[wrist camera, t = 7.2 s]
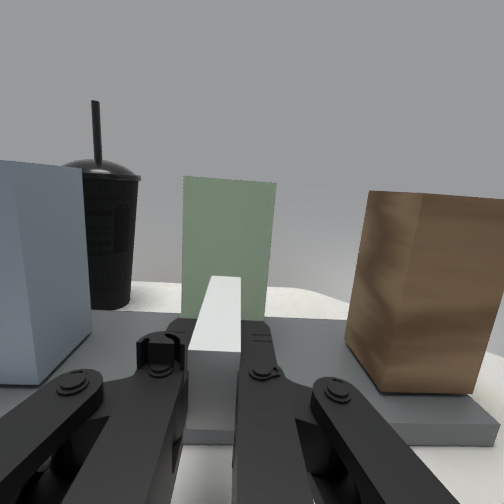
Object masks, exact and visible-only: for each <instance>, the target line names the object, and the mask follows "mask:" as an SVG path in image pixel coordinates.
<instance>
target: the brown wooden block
mask: <svg viewBox="0 0 504 504" xmlns="http://www.w3.org/2000/svg"><path fill="white" fill-rule="evenodd" d="M503 292H504V199H491V198H478V197H466V196H465V197H464V196H452V195H440V194H427V193H408V192H388V191H387V192H386V191H369V194H368V200H367V206H366V212H365V218H364V224H363V230H362V236H361V242H360V247H359V253H358V259H357V265H356V271H355V277H354V283H353V289H352V295H351V301H350V306H349V312H348V318H347V324H346V330H345V336H344V340H345V341H346V343H347V344H348V345H349V347H350V348H351V350H352V351H353V353H354V354H355V355H356V357H357V358H358V360H359V361H360V363H361V364H362V365H363V367H364V368H365V370H366V371H367V372H368V374H369V375H370V377H371V378H372V380H373V381H374V382H375V384H376V385H377V387H378V388H379V390H380V391H381V392H406V393H454V394H473V390H474V387H475V384H476V381H477V377H478V374H479V371H480V367H481V364H482V361H483V358H484V354H485V351H486V348H487V344H488V341H489V338H490V334H491V331H492V328H493V325H494V321H495V318H496V315H497V312H498V309H499V305H500V302H501V299H502V295H503Z"/></svg>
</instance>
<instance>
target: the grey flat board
mask: <svg viewBox="0 0 504 504" xmlns="http://www.w3.org/2000/svg"><path fill="white" fill-rule="evenodd" d="M177 318H181V313H158V312H134V311H109V310H91V319H92V331H91V332H90V333H89V334H88V335H87V336H86V337H85V338H84V339H83V340H82V341H81V342H80V343H79V344H78V345H77V346H76V347H75V348H74V349H73V350H72V351H71V352H70V353H69V354H68V355H67V357H66V358H65V359H64V360H63V361H62V362H61V363H60V364H59V365H58V366H57V367H56V368H55V369H54V370H53V371H52V372H51V373H50V374H49V375H48V376H47V377H46V378H45V379H44V380H43V381H42V382H41V383H40V384H39V385H20V384H0V418H1V417H2V416H4V415H5V414H6V413H8V412H9V411H10V410H12V409H13V408H14V407H16V406H17V405H18V404H20V403H21V402H23V401H24V400H25V399H27V398H28V397H29V396H31V395H32V394H33V393H35V392H36V391H37V390H39V389H40V388H41V387H43V386H44V385H45V384H47V383H48V382H50V381H51V380H53V379H54V378H56V377H58V376H59V375H61V374H64V373H66V372H69V371H72V370H78V369H94V370H96V371H98V372H100V373H101V375H102V376H103V382H107V381H112V380H118V379H123V378H127V377H130V376H132V375H133V374H134V373H135V371H136V369H137V358H136V342H137V341H138V340H139V339H140V338H141V337H143V336H145V335H147V334H149V333H153V332H157V331H166V329H167V327H168V325H169V324H170V323H171V322H172V321H174V320H175V319H177ZM264 322H265V323H266V324H267V325H268V326H269V327H270V330H271V336H272V340H273V345H274V350H275V355H276V360H277V365H278V366H279V367H281V368H282V370H283V372H284V374H285V377H286V378H287V379H289V380H291V381H293V382H295V383H298V384H300V385H304V386H308V387H311V388H313V383H314V382H315V381H316V380H317V379H319V378H322V377H336V378H340V379H343V380H345V381H347V382H349V383H351V384H352V385H353V386H355V387H356V388H357V389H358V390H359V391H360V392H361V393H362V394H363V395H364V397H365V398H366V399H367V400H368V401H369V402H370V403H371V404H372V406H373V407H374V408H375V409H376V410H377V411H378V412H379V413H380V415H381V416H382V417H383V418H384V419H385V420H386V421H387V422H388V423H389V425H390V426H391V427H392V428H393V429H394V430H395V431H396V432H397V434H398V435H399V436H400V437H401V438H402V439H403V440H404V441H405V443H406V444H407V445H424V446H493V445H494V442H495V439H496V436H497V433H498V430H499V427H500V425H501V424H499V423H498V422H497V421H496V420H495V419H494V418H493V417H492V416H491V415H490V414H488V413H487V412H486V411H485V410H484V409H483V408H482V407H481V406H480V405H478V404H477V403H476V402H475V401H474V400H473V399H472V398H471V397H470V396H469V395H467V394H454V393H406V392H381V391H380V390H379V388H378V387H377V385H376V384H375V382H374V381H373V380H372V378H371V377H370V375H369V374H368V372H367V371H366V370H365V368H364V367H363V365H362V364H361V363H360V361H359V360H358V358H357V357H356V355H355V354H354V353H353V351H352V350H351V348H350V347H349V345H348V344H347V343H346V341H345V340H344V336H345V330H346V324H347V320H330V319H306V318H281V317H264ZM183 444H234V430H199V429H186V421H185V426H184V430H183Z"/></svg>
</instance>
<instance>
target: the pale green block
mask: <svg viewBox="0 0 504 504" xmlns="http://www.w3.org/2000/svg"><path fill="white" fill-rule="evenodd" d="M183 177H184V179H183V182H184V183H183V238H182V240H183V243H182V301H181V318H193V319H198V316H199V313H200V310H201V307H202V304H203V301H204V298H205V294H206V291H207V288H208V285H209V282H210V279H211V276H228V277H241V320H252V321H264V313H265V302H266V291H267V281H268V269H269V258H270V248H271V237H272V226H273V215H274V205H275V194H276V183H267V182H256V181H243V180H229V179H217V178H204V177H190V176H183Z"/></svg>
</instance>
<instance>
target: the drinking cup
mask: <svg viewBox="0 0 504 504" xmlns="http://www.w3.org/2000/svg"><path fill="white" fill-rule="evenodd" d="M91 107H92V126H93V144H94V159H86V160H78V161H73V162H70V163H67V164H65V165H62V166H64V167H74V168H81V169H82V184H83V199H84V214H85V229H86V244H87V259H88V274H89V289H90V304H91V310H109V311H110V310H115V309H118V308H121V307H123V306H125V305H126V304H128V303H129V301H130V290H131V276H132V262H133V248H134V234H135V221H136V207H137V193H138V181H141V176H139V175H136V174H134V173H133V172H132V171H130V170H129V169H127V168H125V167H123V166H121V165H119V164H116V163H113V162H109V161H105V160H102V144H101V126H100V125H101V124H100V104H99V102H98V101H94V100H92V101H91Z"/></svg>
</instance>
